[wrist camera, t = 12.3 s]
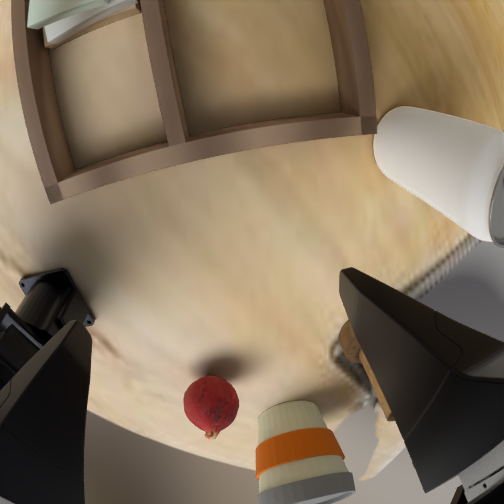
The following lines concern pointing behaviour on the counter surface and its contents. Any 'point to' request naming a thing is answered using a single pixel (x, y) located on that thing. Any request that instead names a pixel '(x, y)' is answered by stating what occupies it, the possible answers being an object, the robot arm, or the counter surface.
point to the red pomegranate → (211, 404)
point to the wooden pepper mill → (357, 356)
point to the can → (447, 166)
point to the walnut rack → (167, 87)
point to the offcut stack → (75, 17)
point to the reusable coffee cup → (299, 457)
